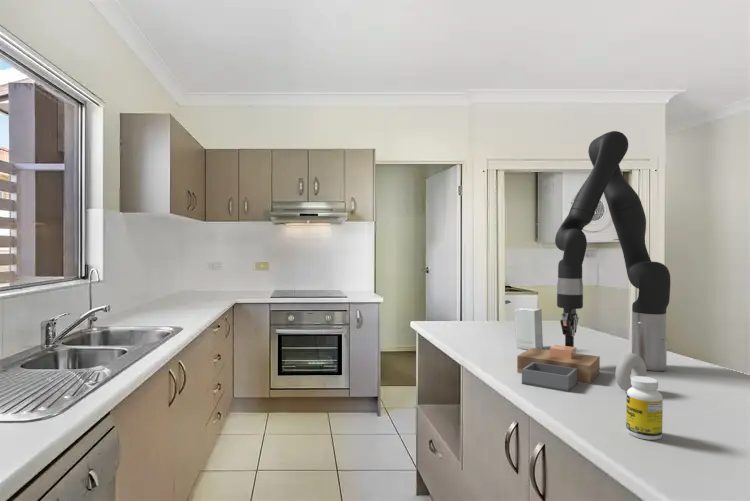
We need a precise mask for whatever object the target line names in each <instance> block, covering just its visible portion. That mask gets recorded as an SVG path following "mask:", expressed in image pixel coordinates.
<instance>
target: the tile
mask: <svg viewBox="0 0 750 501" xmlns="http://www.w3.org/2000/svg"><path fill="white" fill-rule="evenodd" d="M549 350H550V356H551V357H558V358H565V359H572V358H573V357H575V356H576V354H577V347H576V346H574V347H570V346H565V345H562V344H561V345H559V344H554V345H552V346H551V347H549Z"/></svg>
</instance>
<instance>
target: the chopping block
mask: <svg viewBox="0 0 750 501" xmlns="http://www.w3.org/2000/svg"><path fill="white" fill-rule="evenodd" d="M516 356H517V357H516V358H517V359H516V361H517V364H516V365H517V366H516V370H517V371H516V372H517V373H519V374H522V369H523V368H525V367H526V366H528V365H529V364H531V363H533V362H536V363H542V364H549V365H556V366H563V367H570V368H577V383H579V382H580V383H581V384H585V383H586V384H587V385H590V384H591V383H592V382H594V380H595V379H596V378H597V377H598V376H599V375H598V374H600V370H601V368H600V363H601V361H600V359H601V357H600V356H598V355H591V354H585V353H584V354H582V353H576V356H575V357H573V358H572V359H565V358H558V357H551V356H550V349H546V348H545V349H544V348H543V349H537V348H531V349H529V350H527V349H526V350H525V351H523V352H522V353H520V354H518V355H516ZM597 375H598V376H597Z"/></svg>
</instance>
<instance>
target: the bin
mask: <svg viewBox="0 0 750 501" xmlns="http://www.w3.org/2000/svg"><path fill="white" fill-rule="evenodd" d="M521 384H522V385H527V386H531V387H536V388H537V387H538V388H543V389H550V390H555V391H561V392H566V393H569V392H570V391H571V390H572V389H573V388H574V387H575V386H577V384H578V382H577V368H570V367H563V366H556V365H549V364H542V363H536V362H533V363H531V364H529V365H528V366H526V367H525V368H523V369H522V373H521Z"/></svg>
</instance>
